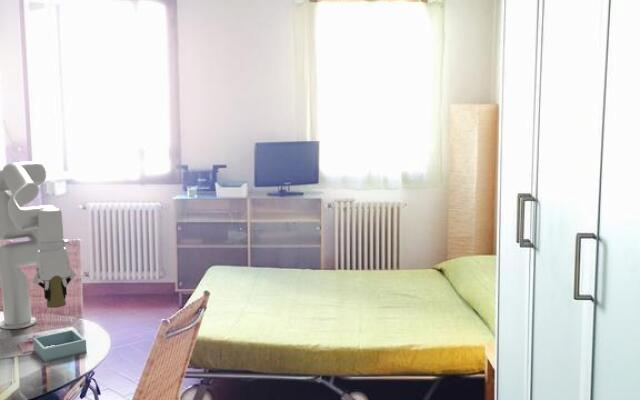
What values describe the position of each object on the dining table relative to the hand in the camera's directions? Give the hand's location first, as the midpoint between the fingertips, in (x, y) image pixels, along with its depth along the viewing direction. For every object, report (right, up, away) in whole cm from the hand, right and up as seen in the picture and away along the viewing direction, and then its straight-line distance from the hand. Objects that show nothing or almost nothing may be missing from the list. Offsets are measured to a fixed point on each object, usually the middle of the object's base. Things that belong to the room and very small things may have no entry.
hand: (55, 298), depth 224 cm
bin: (0, -18, +3) cm, 19 cm away
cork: (0, -2, 0) cm, 2 cm away
